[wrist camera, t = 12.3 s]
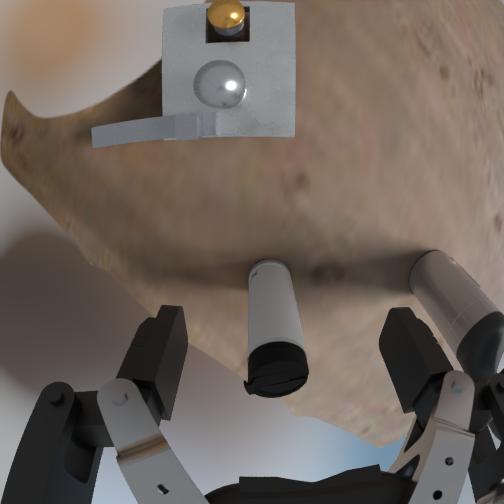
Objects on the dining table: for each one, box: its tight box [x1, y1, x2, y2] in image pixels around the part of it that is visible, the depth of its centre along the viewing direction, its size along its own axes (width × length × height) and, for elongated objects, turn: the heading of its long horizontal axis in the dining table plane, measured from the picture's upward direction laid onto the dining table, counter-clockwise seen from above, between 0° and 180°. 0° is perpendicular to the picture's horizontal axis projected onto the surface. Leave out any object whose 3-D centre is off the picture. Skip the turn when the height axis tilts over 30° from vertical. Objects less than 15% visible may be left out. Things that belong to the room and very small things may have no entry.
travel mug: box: [244, 259, 309, 398], centre depth 34 cm, size 6×7×20 cm
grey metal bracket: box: [91, 1, 296, 148], centre depth 24 cm, size 22×16×14 cm
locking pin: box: [207, 0, 245, 43], centre depth 23 cm, size 3×3×10 cm
